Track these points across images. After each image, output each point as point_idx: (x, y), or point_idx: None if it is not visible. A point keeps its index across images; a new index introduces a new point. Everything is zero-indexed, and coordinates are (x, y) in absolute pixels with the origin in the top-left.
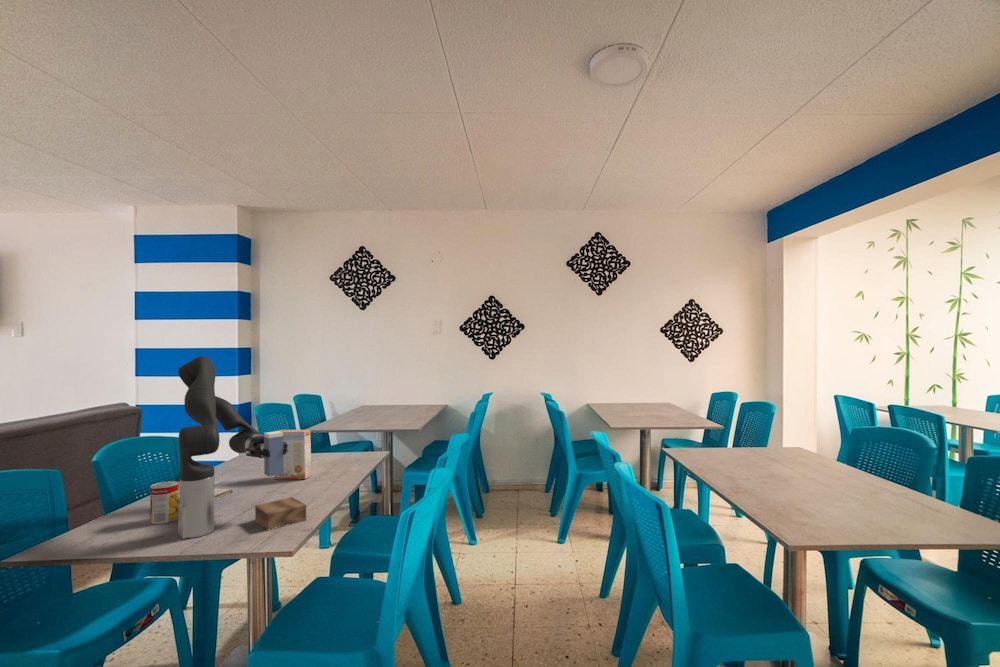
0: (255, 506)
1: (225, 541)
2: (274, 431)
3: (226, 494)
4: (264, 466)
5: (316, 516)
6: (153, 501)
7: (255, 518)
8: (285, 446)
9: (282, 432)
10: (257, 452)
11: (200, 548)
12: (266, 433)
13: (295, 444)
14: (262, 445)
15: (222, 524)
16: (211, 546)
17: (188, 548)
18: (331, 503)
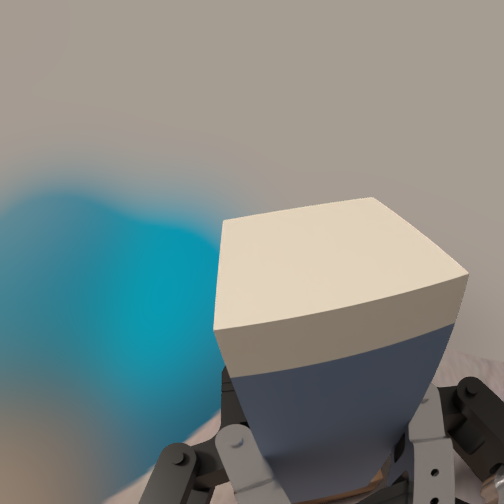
0: (382, 476)
1: (433, 381)
2: (292, 314)
3: None
4: (375, 472)
5: (217, 431)
6: None
7: (374, 487)
8: (191, 449)
9: (225, 223)
10: (453, 392)
11: (468, 364)
12: (416, 234)
13: None
14: (436, 495)
15: (456, 493)
16: (452, 367)
17: (488, 371)
18: (137, 490)
